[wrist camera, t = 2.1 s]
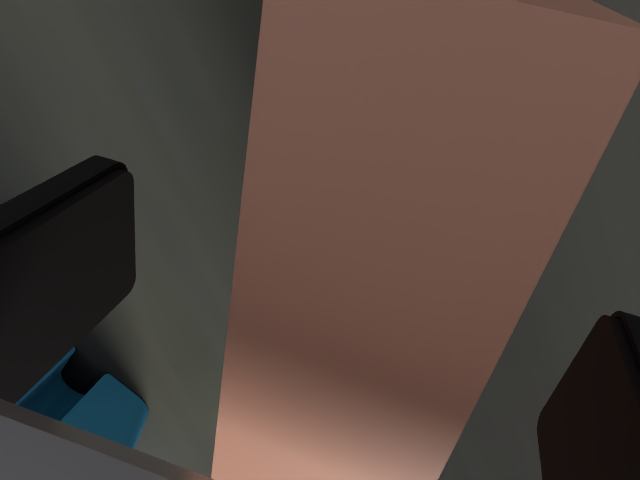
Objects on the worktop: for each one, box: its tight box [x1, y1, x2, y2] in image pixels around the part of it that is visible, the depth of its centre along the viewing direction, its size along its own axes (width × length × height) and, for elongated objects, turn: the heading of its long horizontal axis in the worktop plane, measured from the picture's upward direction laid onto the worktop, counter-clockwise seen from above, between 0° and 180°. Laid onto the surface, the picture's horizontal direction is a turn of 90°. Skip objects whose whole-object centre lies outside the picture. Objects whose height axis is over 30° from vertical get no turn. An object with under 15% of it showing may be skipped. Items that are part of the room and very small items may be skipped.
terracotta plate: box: [211, 0, 640, 480], centre depth 12 cm, size 3×12×12 cm, turn 170°
